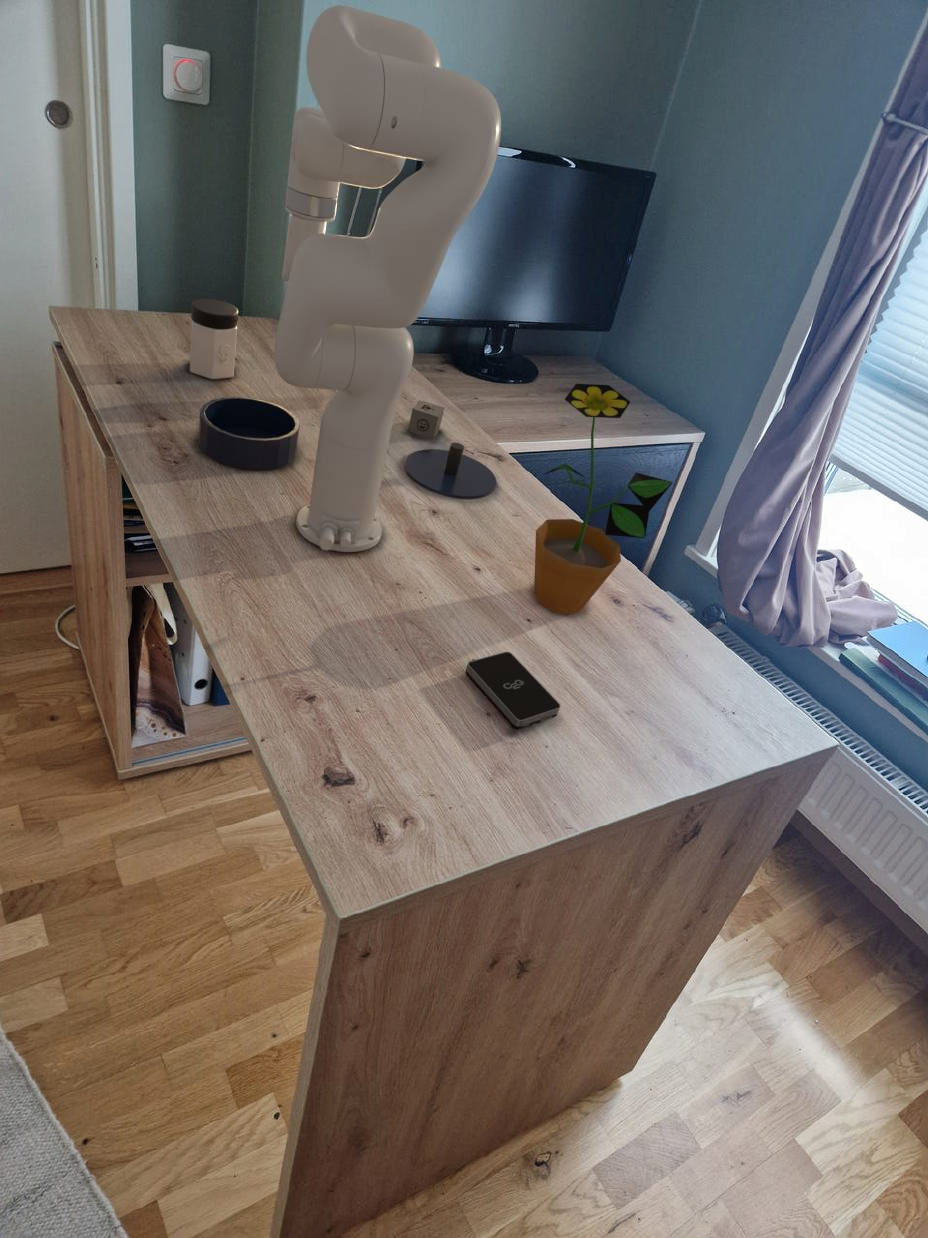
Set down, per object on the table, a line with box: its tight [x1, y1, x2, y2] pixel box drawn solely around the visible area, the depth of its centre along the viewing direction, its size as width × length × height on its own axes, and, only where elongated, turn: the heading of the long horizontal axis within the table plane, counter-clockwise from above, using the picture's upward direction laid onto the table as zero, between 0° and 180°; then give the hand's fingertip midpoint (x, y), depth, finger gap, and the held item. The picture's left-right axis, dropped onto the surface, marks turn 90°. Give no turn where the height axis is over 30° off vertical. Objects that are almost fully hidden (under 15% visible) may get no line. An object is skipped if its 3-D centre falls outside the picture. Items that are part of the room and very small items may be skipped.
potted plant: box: [533, 383, 674, 616], centre depth 112 cm, size 18×19×30 cm
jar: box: [189, 298, 239, 380], centre depth 152 cm, size 9×8×12 cm
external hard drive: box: [465, 651, 562, 731], centre depth 100 cm, size 7×11×2 cm, turn 35°
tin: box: [198, 396, 301, 472], centre depth 134 cm, size 15×15×5 cm
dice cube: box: [407, 399, 445, 440], centre depth 154 cm, size 5×5×5 cm
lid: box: [403, 442, 498, 500], centre depth 142 cm, size 16×16×6 cm
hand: (297, 318), depth 135 cm, fingers closed on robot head, 7 cm apart
